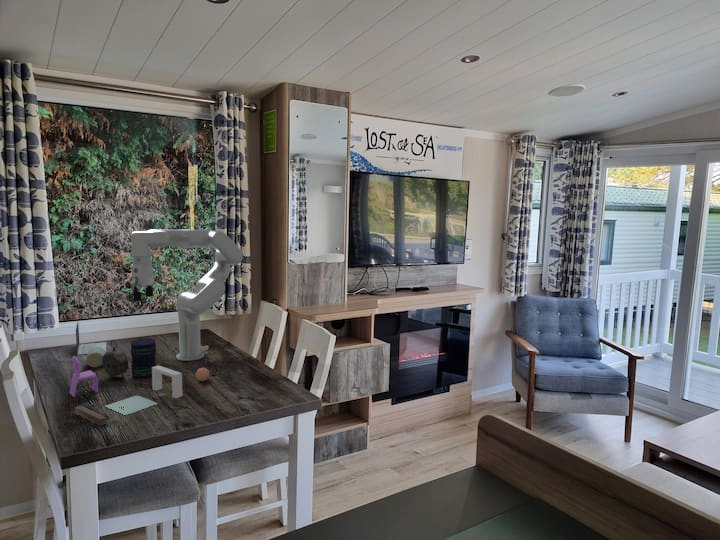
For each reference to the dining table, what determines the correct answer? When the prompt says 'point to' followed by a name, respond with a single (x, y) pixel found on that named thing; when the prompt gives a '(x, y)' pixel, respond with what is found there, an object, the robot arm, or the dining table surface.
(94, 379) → the toy chair
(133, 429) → the dining table surface
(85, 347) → the laptop
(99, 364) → the ceramic mug
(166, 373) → the bridge
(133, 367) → the storage jar
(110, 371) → the alarm clock
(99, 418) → the brown wooden bar
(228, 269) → the robot arm
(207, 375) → the ball
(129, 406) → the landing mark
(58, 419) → the dining table surface
